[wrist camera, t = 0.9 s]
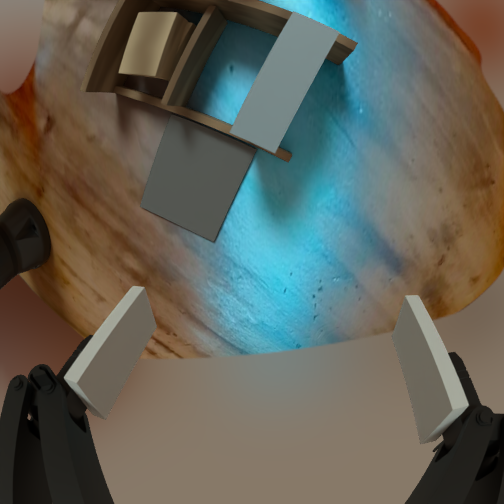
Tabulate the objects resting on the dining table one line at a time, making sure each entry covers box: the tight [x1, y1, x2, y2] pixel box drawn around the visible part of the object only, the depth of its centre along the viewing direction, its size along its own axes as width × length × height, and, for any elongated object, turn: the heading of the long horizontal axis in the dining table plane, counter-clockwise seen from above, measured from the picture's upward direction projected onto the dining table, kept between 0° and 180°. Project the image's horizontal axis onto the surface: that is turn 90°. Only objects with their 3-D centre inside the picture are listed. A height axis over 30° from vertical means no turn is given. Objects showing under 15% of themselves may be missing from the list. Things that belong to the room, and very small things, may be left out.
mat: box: [140, 114, 257, 242], centre depth 35 cm, size 12×14×1 cm
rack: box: [80, 0, 358, 162], centre depth 24 cm, size 26×15×8 cm, turn 65°
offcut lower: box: [163, 22, 197, 81], centre depth 26 cm, size 5×8×4 cm, turn 155°
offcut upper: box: [119, 12, 188, 79], centre depth 23 cm, size 5×8×4 cm, turn 163°
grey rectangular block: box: [229, 11, 340, 153], centre depth 23 cm, size 4×12×12 cm, turn 155°
